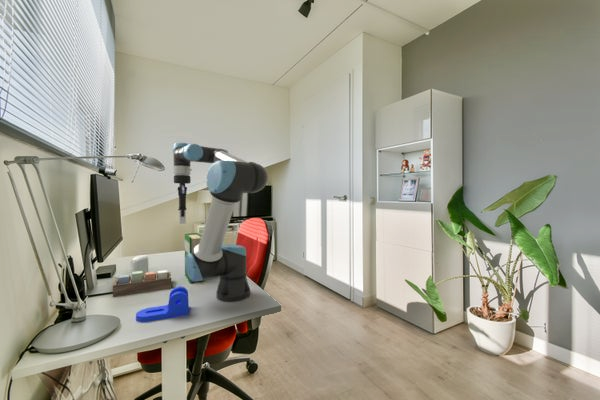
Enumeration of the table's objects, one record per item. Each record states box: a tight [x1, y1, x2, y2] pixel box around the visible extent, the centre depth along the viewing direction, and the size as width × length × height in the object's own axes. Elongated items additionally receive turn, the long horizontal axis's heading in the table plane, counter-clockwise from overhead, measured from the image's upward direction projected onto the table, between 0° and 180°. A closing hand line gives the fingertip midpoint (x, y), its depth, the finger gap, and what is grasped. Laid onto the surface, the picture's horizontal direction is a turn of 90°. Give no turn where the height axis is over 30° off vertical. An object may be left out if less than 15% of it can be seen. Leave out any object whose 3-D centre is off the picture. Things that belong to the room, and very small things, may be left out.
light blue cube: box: [118, 273, 131, 284], centre depth 128 cm, size 4×4×4 cm
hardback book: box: [184, 232, 206, 285], centre depth 148 cm, size 18×7×24 cm, turn 31°
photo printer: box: [130, 254, 149, 277], centre depth 149 cm, size 10×4×12 cm, turn 172°
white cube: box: [157, 269, 168, 279], centre depth 136 cm, size 4×4×4 cm
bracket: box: [135, 286, 190, 323], centre depth 103 cm, size 18×8×9 cm, turn 114°
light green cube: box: [132, 271, 143, 282], centre depth 131 cm, size 4×4×4 cm
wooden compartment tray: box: [112, 271, 172, 297], centre depth 132 cm, size 12×24×5 cm, turn 118°
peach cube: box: [145, 271, 156, 281], centre depth 133 cm, size 4×4×4 cm
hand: (182, 223), depth 131 cm, fingers closed
